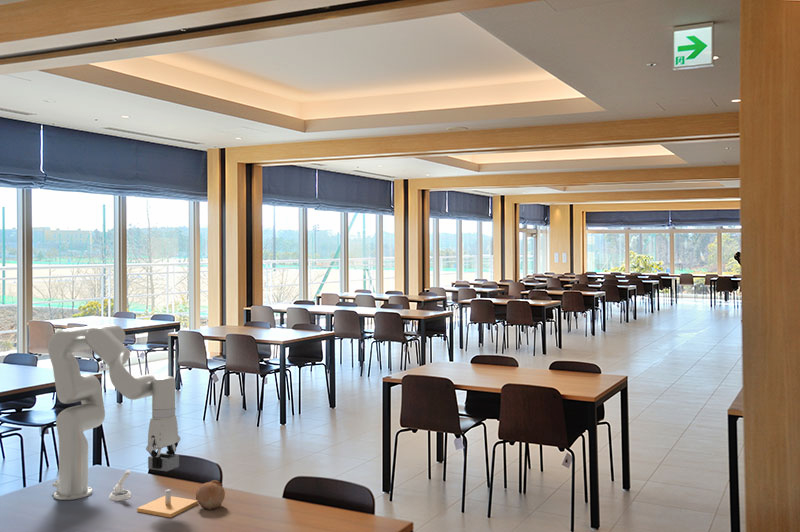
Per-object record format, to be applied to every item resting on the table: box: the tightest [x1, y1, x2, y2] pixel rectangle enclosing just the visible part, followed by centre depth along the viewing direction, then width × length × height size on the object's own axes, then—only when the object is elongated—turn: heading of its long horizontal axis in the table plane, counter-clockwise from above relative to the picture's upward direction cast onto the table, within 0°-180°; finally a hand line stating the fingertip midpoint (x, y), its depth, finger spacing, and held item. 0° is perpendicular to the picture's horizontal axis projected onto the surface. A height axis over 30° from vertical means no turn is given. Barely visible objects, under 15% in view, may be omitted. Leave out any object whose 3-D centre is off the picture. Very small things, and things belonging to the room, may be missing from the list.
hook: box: [108, 469, 133, 502], centre depth 246 cm, size 8×12×7 cm
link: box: [147, 452, 180, 472], centre depth 234 cm, size 8×6×4 cm
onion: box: [195, 479, 226, 510], centre depth 236 cm, size 10×9×10 cm
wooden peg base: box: [136, 489, 199, 518], centre depth 236 cm, size 14×14×6 cm
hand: (163, 465), depth 234 cm, fingers closed on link, 6 cm apart
